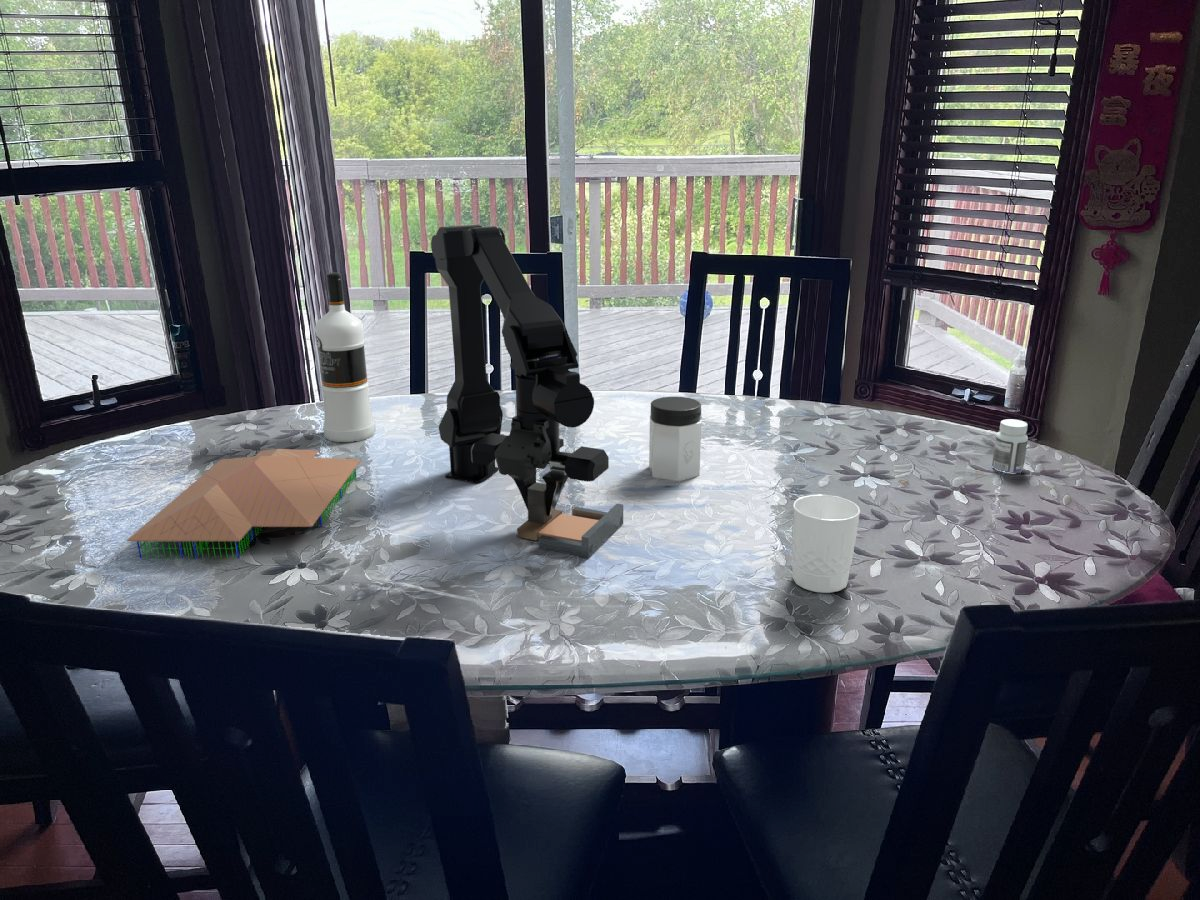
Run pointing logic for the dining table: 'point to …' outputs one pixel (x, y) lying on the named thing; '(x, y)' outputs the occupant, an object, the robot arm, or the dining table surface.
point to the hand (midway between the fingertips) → (540, 513)
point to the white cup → (823, 541)
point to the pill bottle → (1010, 446)
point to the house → (250, 499)
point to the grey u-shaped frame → (592, 537)
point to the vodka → (343, 370)
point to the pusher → (536, 513)
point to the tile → (568, 527)
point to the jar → (675, 438)
